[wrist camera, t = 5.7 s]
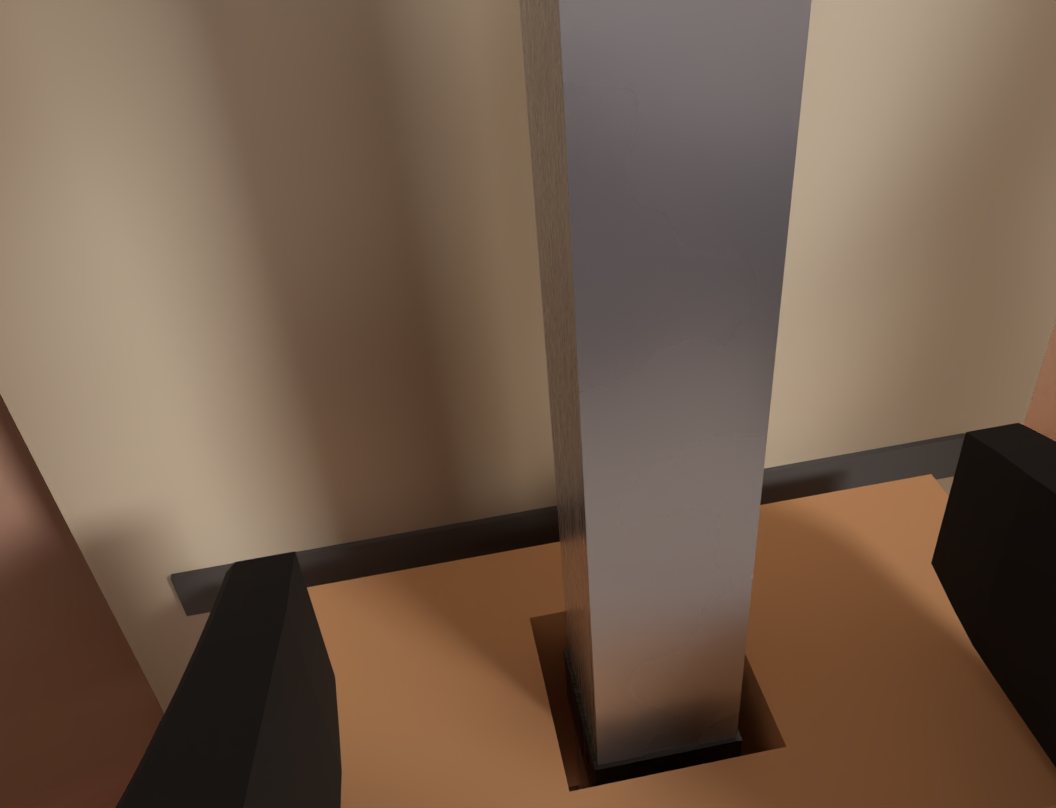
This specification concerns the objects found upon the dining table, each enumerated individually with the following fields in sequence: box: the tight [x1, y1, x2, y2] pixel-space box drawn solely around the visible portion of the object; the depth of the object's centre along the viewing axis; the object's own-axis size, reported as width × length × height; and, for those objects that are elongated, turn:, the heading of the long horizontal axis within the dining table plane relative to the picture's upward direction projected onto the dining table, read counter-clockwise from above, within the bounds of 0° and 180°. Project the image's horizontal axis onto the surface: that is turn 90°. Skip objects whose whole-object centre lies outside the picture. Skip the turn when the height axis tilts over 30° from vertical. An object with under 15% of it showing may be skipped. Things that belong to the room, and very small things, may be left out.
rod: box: [519, 0, 812, 790], centre depth 9 cm, size 2×22×2 cm, turn 4°
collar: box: [307, 474, 1056, 808], centre depth 12 cm, size 10×4×5 cm, turn 94°
